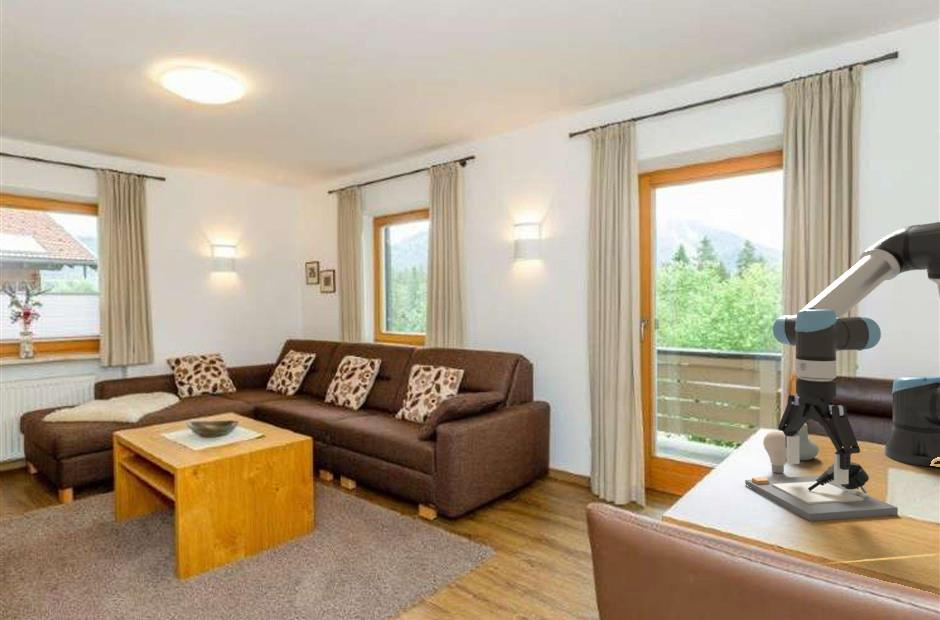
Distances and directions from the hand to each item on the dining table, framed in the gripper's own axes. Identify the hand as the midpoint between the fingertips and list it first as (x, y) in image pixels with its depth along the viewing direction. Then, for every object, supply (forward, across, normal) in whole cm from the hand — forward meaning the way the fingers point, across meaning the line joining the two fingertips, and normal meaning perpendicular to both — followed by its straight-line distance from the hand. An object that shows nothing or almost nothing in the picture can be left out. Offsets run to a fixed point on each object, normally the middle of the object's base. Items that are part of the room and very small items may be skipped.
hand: (815, 473), depth 116 cm
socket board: (+6, 0, 0) cm, 6 cm away
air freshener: (+6, -28, +18) cm, 34 cm away
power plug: (+6, 0, 0) cm, 6 cm away
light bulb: (+6, -17, +4) cm, 18 cm away
